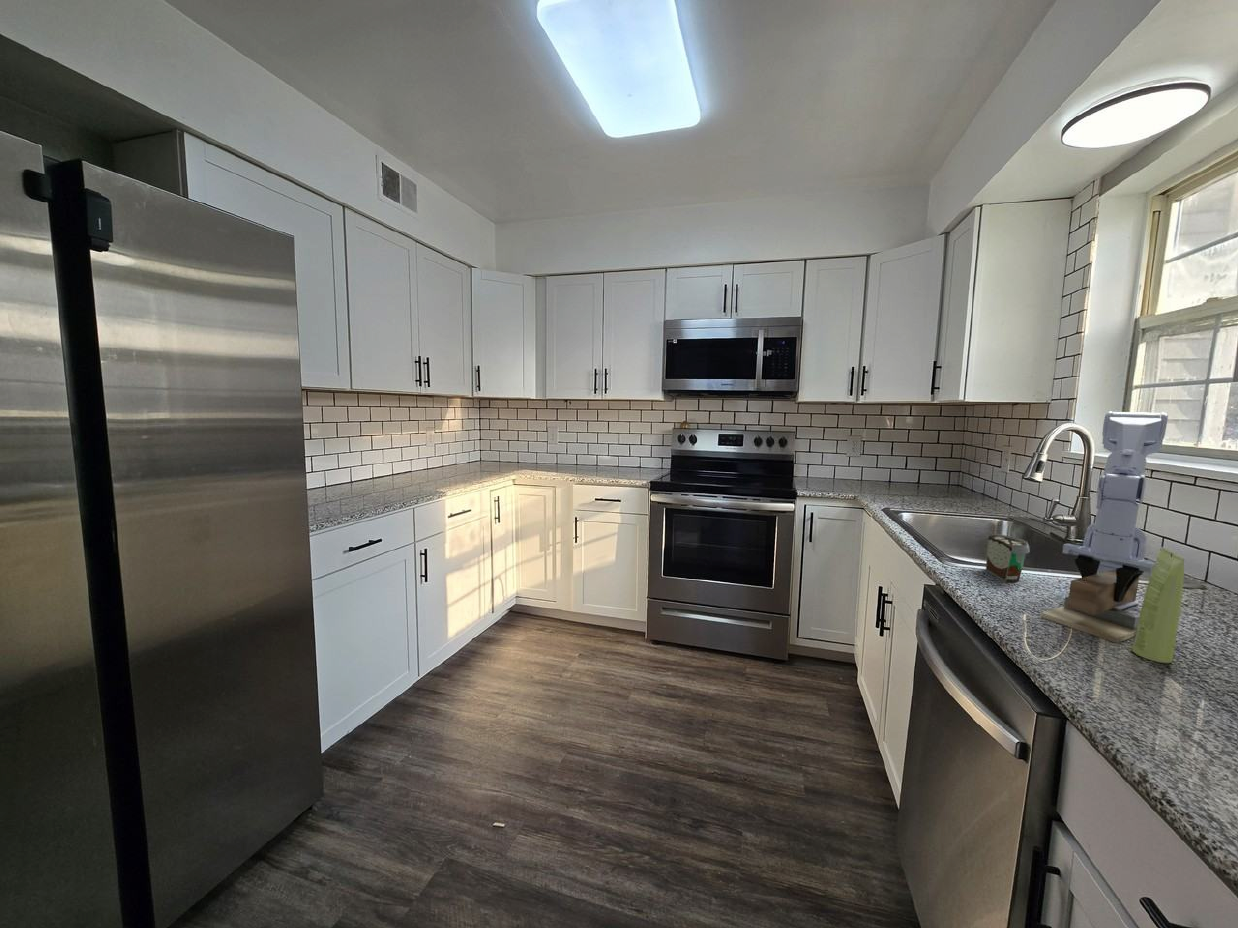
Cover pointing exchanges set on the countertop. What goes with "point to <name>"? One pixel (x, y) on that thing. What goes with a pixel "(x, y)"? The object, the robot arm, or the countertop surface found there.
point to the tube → (1160, 609)
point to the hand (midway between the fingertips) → (1103, 596)
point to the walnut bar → (1098, 593)
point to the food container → (1006, 556)
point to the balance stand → (1096, 622)
